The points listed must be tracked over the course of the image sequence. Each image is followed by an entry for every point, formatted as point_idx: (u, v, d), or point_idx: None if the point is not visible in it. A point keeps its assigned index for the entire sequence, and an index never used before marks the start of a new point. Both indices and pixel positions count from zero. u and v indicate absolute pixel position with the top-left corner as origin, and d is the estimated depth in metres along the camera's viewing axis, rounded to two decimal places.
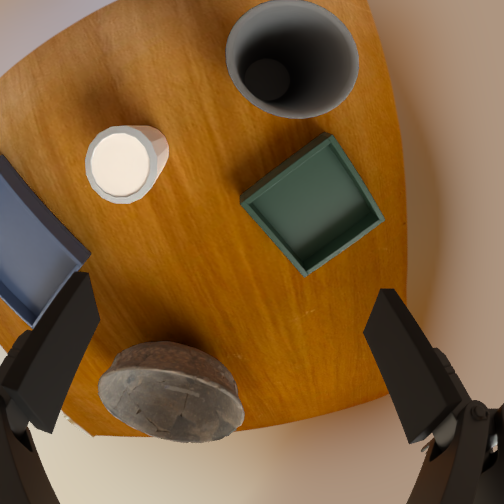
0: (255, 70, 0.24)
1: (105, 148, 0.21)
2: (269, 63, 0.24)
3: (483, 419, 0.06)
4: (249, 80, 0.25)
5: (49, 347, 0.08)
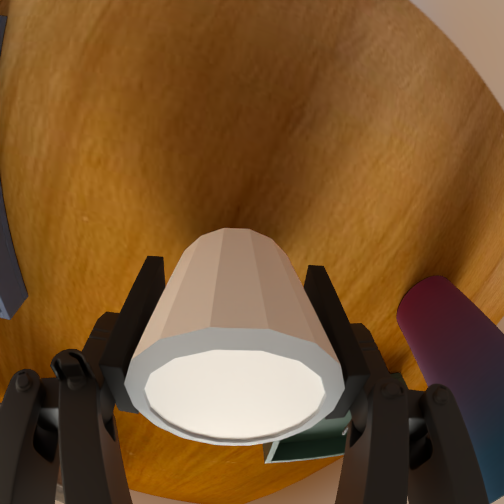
0: None
1: (242, 366, 0.07)
2: None
3: (399, 396, 0.07)
4: None
5: (141, 325, 0.10)
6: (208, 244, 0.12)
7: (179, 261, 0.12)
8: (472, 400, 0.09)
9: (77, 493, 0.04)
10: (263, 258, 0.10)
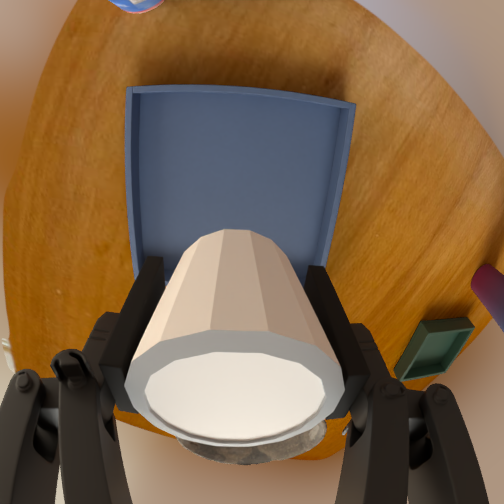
0: None
1: (242, 369, 0.07)
2: None
3: (399, 396, 0.07)
4: None
5: (141, 325, 0.10)
6: (208, 245, 0.12)
7: (179, 262, 0.12)
8: None
9: (77, 493, 0.04)
10: (263, 260, 0.10)
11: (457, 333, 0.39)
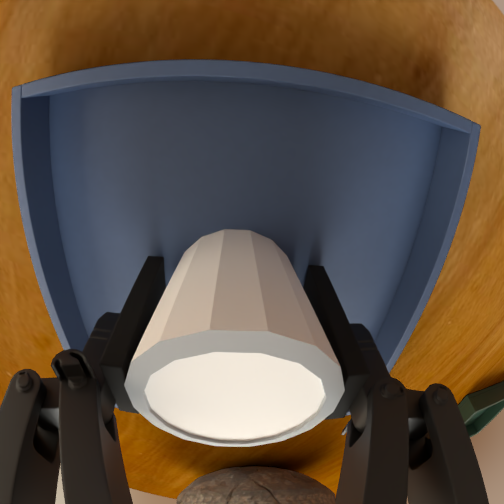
0: None
1: (242, 369, 0.07)
2: None
3: (398, 396, 0.07)
4: None
5: (141, 325, 0.10)
6: (208, 245, 0.12)
7: (179, 262, 0.12)
8: None
9: (77, 493, 0.04)
10: (263, 260, 0.10)
11: None
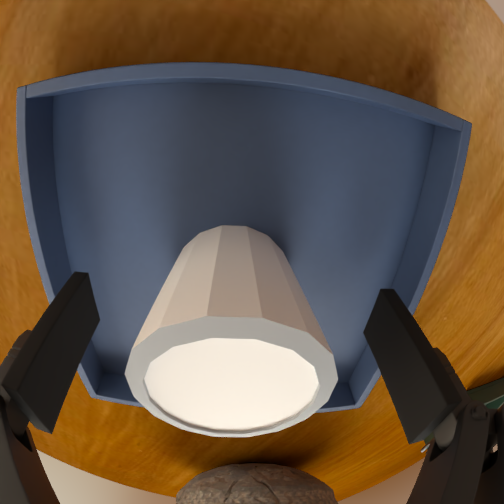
0: None
1: (238, 356, 0.08)
2: None
3: (483, 419, 0.06)
4: None
5: (49, 347, 0.08)
6: (206, 240, 0.12)
7: (178, 257, 0.13)
8: None
9: (4, 502, 0.03)
10: (259, 253, 0.11)
11: None
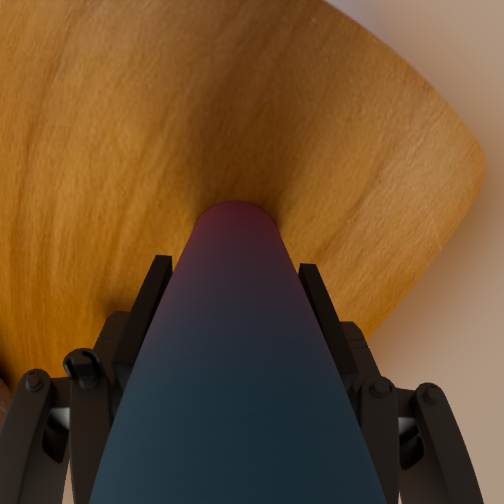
0: None
1: None
2: None
3: (388, 394, 0.07)
4: None
5: None
6: None
7: None
8: (144, 339, 0.08)
9: (87, 493, 0.04)
10: None
11: None
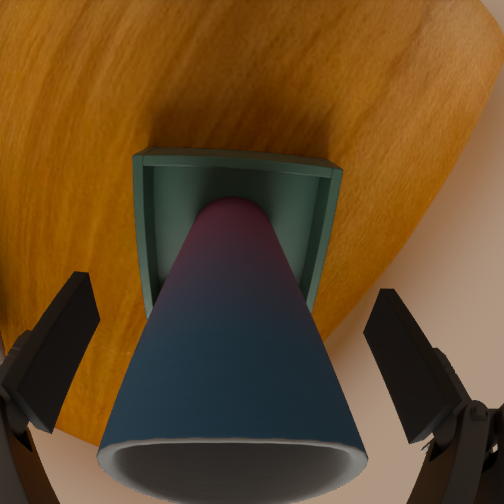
0: None
1: None
2: None
3: (483, 419, 0.06)
4: None
5: (49, 347, 0.08)
6: None
7: None
8: None
9: (4, 502, 0.03)
10: None
11: (309, 207, 0.18)
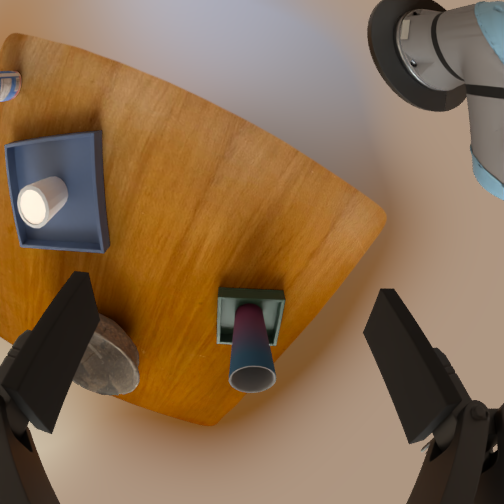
0: None
1: (31, 194, 0.33)
2: None
3: (483, 419, 0.06)
4: None
5: (49, 347, 0.08)
6: None
7: None
8: (233, 346, 0.44)
9: (4, 502, 0.03)
10: (48, 180, 0.36)
11: (275, 306, 0.52)
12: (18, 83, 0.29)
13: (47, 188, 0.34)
